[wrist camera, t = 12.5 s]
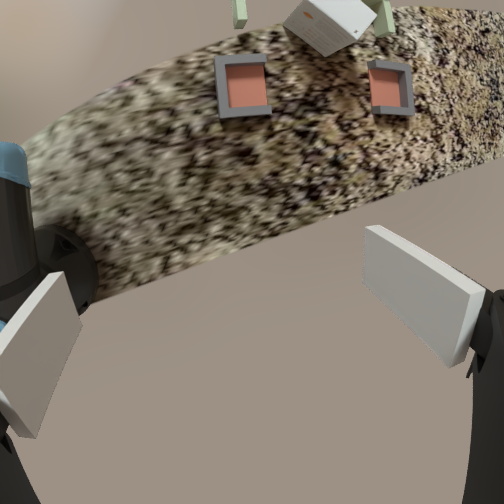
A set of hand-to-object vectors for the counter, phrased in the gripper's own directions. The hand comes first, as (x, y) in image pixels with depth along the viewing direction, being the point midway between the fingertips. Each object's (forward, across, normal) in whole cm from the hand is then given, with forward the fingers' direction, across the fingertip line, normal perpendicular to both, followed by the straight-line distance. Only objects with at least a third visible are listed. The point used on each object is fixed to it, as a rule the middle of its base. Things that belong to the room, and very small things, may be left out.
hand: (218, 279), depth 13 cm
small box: (+32, +18, +21) cm, 42 cm away
